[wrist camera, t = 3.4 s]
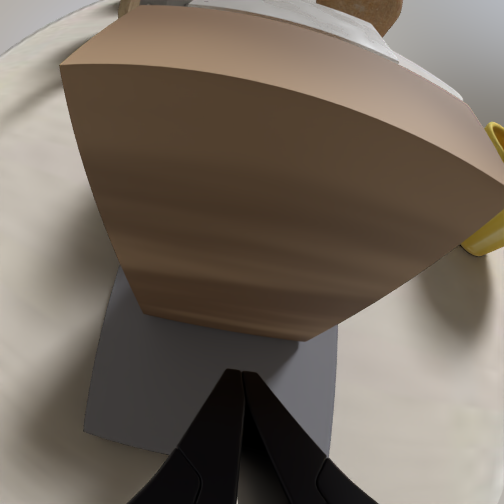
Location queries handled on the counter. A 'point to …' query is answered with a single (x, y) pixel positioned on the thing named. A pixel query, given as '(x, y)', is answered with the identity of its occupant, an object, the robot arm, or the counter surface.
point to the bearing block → (309, 20)
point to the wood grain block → (270, 168)
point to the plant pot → (500, 227)
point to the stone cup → (369, 11)
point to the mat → (196, 375)
